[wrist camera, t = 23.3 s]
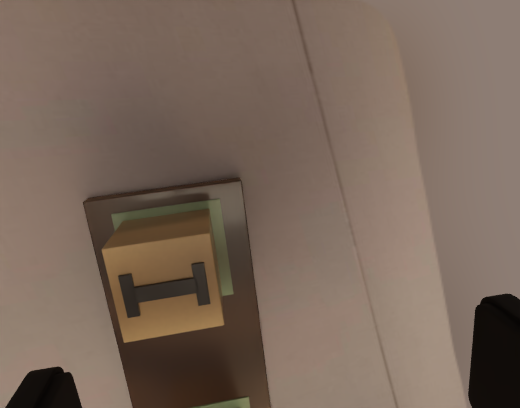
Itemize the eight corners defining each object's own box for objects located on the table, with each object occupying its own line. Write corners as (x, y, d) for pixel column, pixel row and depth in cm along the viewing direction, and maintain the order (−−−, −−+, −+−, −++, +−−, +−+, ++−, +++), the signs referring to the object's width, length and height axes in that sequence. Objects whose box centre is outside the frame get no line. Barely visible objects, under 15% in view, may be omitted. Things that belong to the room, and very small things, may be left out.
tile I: (122, 220, 22) (99, 250, 17) (209, 208, 22) (209, 233, 18) (139, 299, 23) (122, 345, 19) (221, 285, 23) (224, 327, 19)
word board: (87, 198, 22) (81, 202, 21) (240, 177, 23) (241, 180, 22) (156, 485, 28) (154, 500, 27) (276, 460, 29) (279, 473, 28)
